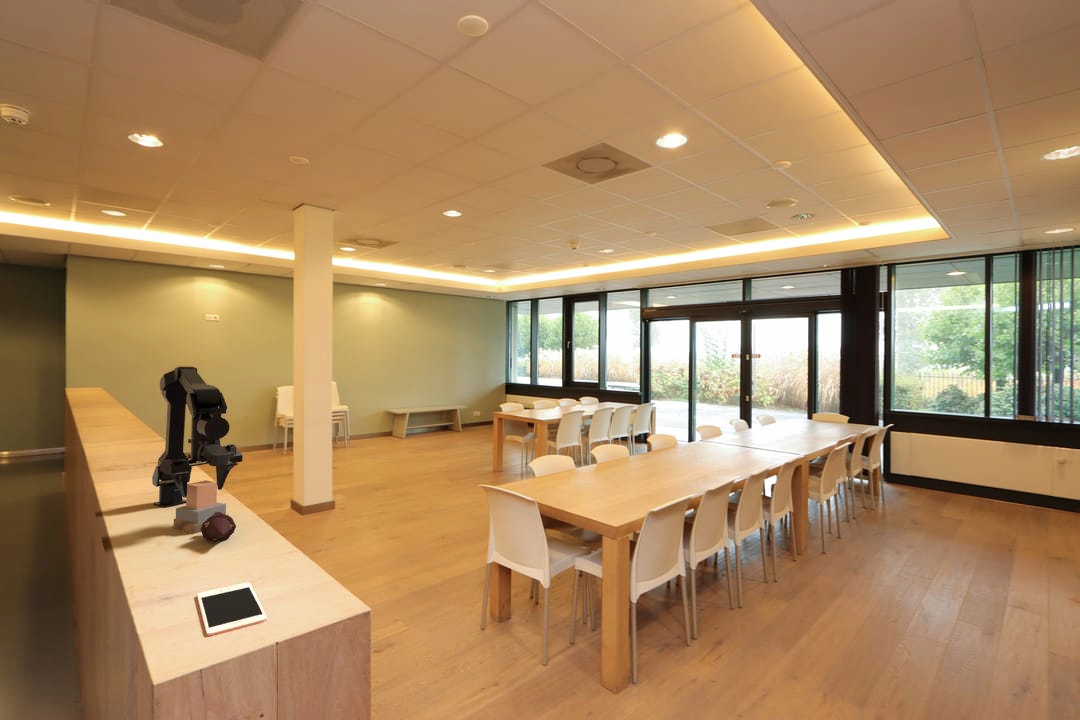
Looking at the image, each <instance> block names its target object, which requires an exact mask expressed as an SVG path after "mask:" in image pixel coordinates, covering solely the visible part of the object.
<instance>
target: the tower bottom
mask: <svg viewBox="0 0 1080 720" xmlns="http://www.w3.org/2000/svg"><path fill="white" fill-rule="evenodd" d="M226 515H227V516H230V515H229V514H226ZM204 522H205V521H204ZM204 522H201V523H192V522H186V521H180V520H176V518H173V527H172V528H173V529H174V528H175V530H178V529H179V531H182V530H183V531H182V532H185V531H186V533H188V534H189V533H190V534H193V535H195V534H198V533H202V532H201V527H202V524H203V523H204Z"/></svg>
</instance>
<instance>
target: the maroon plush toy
mask: <svg viewBox="0 0 1080 720" xmlns="http://www.w3.org/2000/svg"><path fill="white" fill-rule="evenodd" d="M227 515H228V514H226V515H225V514H222V513H221V512H216V513H214V515H213V516H211V517H209V518H208V519H207V520H206V521H205V522H204V523H203V524H202V527H201V532H200V533H201V535H202V538H203V540H205V541H207V542H210V543H213V544H216V543H220V542H226V541H227V540H228V539H229V538H230V537H231V536H232V535H233V534H234V533H235V530H236V528H237V525H236V523H235V521H234V519H233V517H232V516H230V515H229V516H227Z"/></svg>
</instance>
